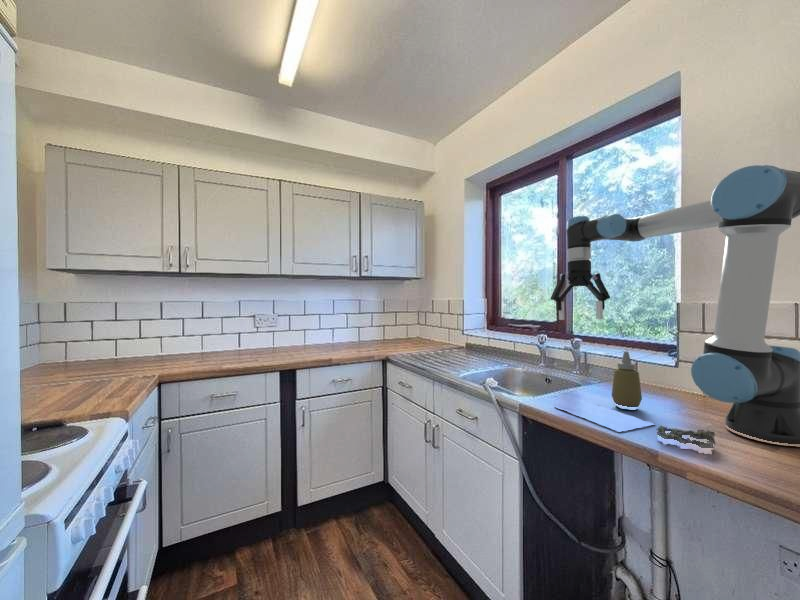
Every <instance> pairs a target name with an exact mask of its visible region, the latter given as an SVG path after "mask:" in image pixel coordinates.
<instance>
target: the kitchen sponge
mask: <svg viewBox="0 0 800 600" xmlns="http://www.w3.org/2000/svg"><path fill="white" fill-rule="evenodd" d="M656 431H657V432H656V436H657V435H659V436H661V437H662V438H664V439H674V440H677V441H679V442H680V443H684V444H686V443H692V444H696V445H698V446H699V447H701V448H713V444H714V446H715V445H716V441H715V435H716V434H715V431H710V430H705V429H697V430H696V431H695V430H692V429H689V430H684V429H681V428H668V427H667V426H663V425H659V426H658V427H657V428H656ZM665 431H671V432H670V433H667V434H666V433H665ZM682 435H690V437H693V438H696V439H707V440H709V441H707V443H704V442H700V441H696V440H692V441H691V440H690V439H689V438H687V439H684V438H682Z"/></svg>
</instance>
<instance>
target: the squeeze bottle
mask: <svg viewBox="0 0 800 600" xmlns="http://www.w3.org/2000/svg"><path fill="white" fill-rule="evenodd" d="M611 398H612V401H613V403H614V402H615V403H616V404H618V405H622V406H627V407H638V406H639V407H640V404H641V402H642V400H643V399H642V398H643V396H642V388H641V380H640V373H639V371H638V370H636V364H635V363H634V362H632V361H631V357H630V352H629V351H623V355H622V358H621V361H619V362H617V368H616V369H615V370H614V371H613V380H612V389H611ZM615 403H614V404H615ZM639 407H638V408H639Z"/></svg>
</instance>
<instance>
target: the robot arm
mask: <svg viewBox="0 0 800 600" xmlns="http://www.w3.org/2000/svg"><path fill="white" fill-rule="evenodd" d="M710 197H711V198H710V200H707V201H702V202H698V203H693V204H689V205H685V206H681V207H675V208H671V209H666V210H662V211H658V212H654V213H650V214H646V215H641V216H636V217H632V218H630V217H629V218H627V217H624V216H622V215H621V214H620V213H617V212H616V213H612V214H605V215H602V216H600V217H596V218H592V219H591V218H590V217H589V216H588V215H579V216H573V217H570V218H569V219H568V220H567V221H566V244H567V255H566V256H567V260H568V262H567V272H568V273H567V274H565V273H561V274H559V275H558V282H557V283H556V286H555V288H554V290H553V292H552V294H551V296H550V300H551V301H555V305H556V306H555V307H556V311H558V320H559V321H563V320H564V321H565V301H563V300H564V298H565V297H566V296H567V295H568V293H570V291H571V290H572V289H573V288H574V287H586V288H587V289H588V290H589V291H590V292H591V294H592V295H593V296H594V297H595V298H596V299H597V300H595V314H596V315H595V316H596V318H595V319H597V320H604V319H603V318H604V313H603V311H604V310H605V308H606V307H605V301H607V300H609V299H611V296H610V293H609V291H608V290H607V287H606V286H605V284H604V282H603V281H602V277H601V273H600V272H599V273H598V272H597V273H593V274H592V261H591V260H590V259H592V252H591V250H592V248H591V242H597V241H602V240H606V241H607V240H608V241H627V242H641V241H645V240H646V239H648V238H649V239H650V238H654V237H660V236H661V237H662V236H666V235H672V234H673V235H674V234H678V233H679V234H680V233H686V232H692V231H697V230H704V229H710V228H717V227H718V228H717V229H718V231H720V232H721V233H722V234H723V235H724V236H725V243H724V252H723V259H722V266H721V275H720V284H719V291H718V299H717V307H716V315H715V321H714V322H715V324H714V330H713V335H712V336H710V337H709V338H707V339H705V340H704V346H703V353H702V354H700V355H699V356H698V357H697V358H695V359H694V361H693V362H692V364H691V368H690V375H691V378H692V380H693V382H694V384H695V386H696V387H698V388H699V390H700V391H701V392H702V393H703V394H705V395H706V396H707V397H709V398H711V399H713V400H715V401H718V402H722V403H732V404H731V406H730V409H729V411H728V413H727V415H726V417H725V419H724V421H725V422H724V423H725V424H726V425H727V426H728V427H729V428H731V429H733V430H735V431H737V432H740V433H743V434H746V435H749V436H752V437H756V438H759V439H763V440H767V441H772V442H779V443H788V444H800V350H799V349H797V348H794V347H789V346H788V347H787V346H778V345H770V344H768V343H767V342H766V341H765V340H766V339H765V337H766V331H767V322H768V315H769V309H770V302H771V294H772V288H773V287H772V286H773V280H774V273H775V266H776V261H777V252H778V246H779V245H778V244H779V240H780V239H779V238H780V235H781V234H783V233H784V232H785V231H787V230H788V229H790V228H791V226H792V220H793V219H795V218H797V217H799V216H800V171H795V170H790V169H786V168H779V167H778V166H774V165H768V164H767V165H766V164H765V165H756V164H755V165H747V166H743V167H741V168H738V169H735V170H734V171H732V172H731V173H729V174H727V175H726V176H725V177H723V179H721V180H720V181H719V182H718V184H717V185H716V186H715V188H714V190H713V191H712V194H711V196H710ZM567 280H568V282H567V284H565V282H566V281H567ZM591 280H593V281H594V283H593V281H591ZM594 284H595V285H594ZM564 285H565V287H564V288H563V286H564ZM562 288H563V289H562Z"/></svg>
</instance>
